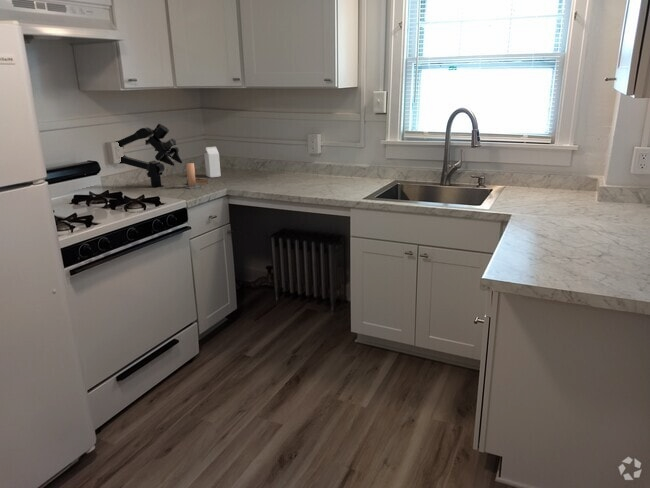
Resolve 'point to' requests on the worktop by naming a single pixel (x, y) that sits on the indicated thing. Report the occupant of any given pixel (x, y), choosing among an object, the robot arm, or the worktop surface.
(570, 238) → the worktop surface
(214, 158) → the milk carton
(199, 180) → the walnut socket block
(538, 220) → the worktop surface
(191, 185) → the peach rounded cylinder
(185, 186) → the slate rubber pad
